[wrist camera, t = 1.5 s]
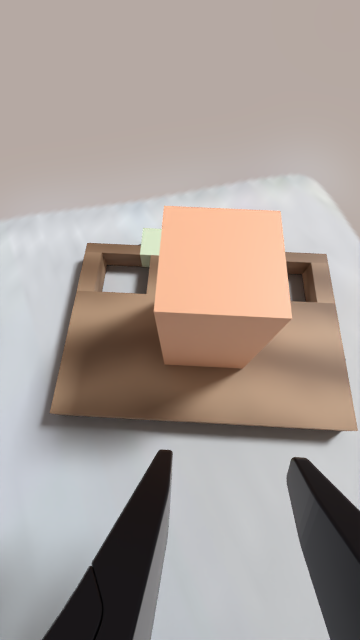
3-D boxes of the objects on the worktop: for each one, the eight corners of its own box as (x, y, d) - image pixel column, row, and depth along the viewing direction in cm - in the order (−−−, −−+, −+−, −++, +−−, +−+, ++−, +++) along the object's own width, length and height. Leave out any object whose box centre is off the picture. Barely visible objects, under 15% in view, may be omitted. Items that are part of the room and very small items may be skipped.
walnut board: (342, 431, 21) (357, 430, 20) (60, 415, 22) (49, 413, 20) (316, 266, 27) (326, 254, 25) (93, 255, 27) (87, 242, 26)
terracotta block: (242, 368, 21) (292, 318, 12) (164, 364, 21) (153, 311, 12) (240, 298, 23) (280, 210, 14) (169, 295, 24) (164, 205, 14)
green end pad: (265, 272, 27) (272, 260, 25) (142, 266, 27) (139, 254, 25) (263, 247, 28) (269, 233, 26) (145, 241, 28) (143, 228, 26)
